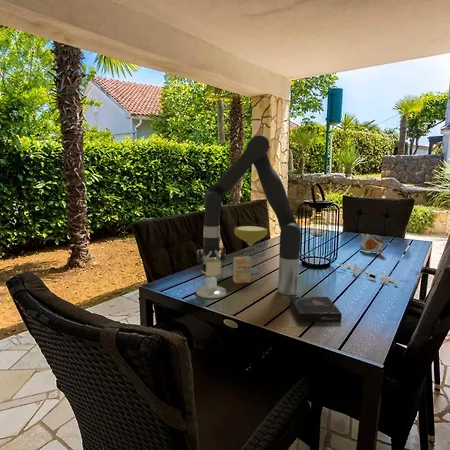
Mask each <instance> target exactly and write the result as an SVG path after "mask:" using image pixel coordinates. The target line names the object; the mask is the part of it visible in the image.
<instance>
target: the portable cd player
mask: <svg viewBox="0 0 450 450" xmlns="http://www.w3.org/2000/svg"><path fill="white" fill-rule="evenodd" d="M289 305H290V308H291V310H292V311H293V313H294V315H295V317H296V319H297V321H298V323H342V313H341V311H340V309H338V307H337V306H336V305H335V304H334V303H333V301H332V300H331V299H330V298H329V296H290V298H289Z"/></svg>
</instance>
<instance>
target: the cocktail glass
mask: <svg viewBox="0 0 450 450" xmlns="http://www.w3.org/2000/svg"><path fill="white" fill-rule="evenodd" d="M233 233H234V235H235V236H236V237H237V238H239V239H240V240H242V241H244V242H246V243H247V245H248V246H249V255H248V256H249V257H250V258H251V251H252V250H251V249H252V248H251V247H252V246H253V245H254V244H255V243H256V242H258V241H260V240H263V239H264V238H265V237H267V235H268V228H267V227H266V226H264V225H257V224H239V225H236V226H235V227H234V232H233ZM251 259H252V258H251ZM259 273H260V270H259V269H258V268H255V267H251V275H256V274H259Z"/></svg>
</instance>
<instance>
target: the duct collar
mask: <svg viewBox="0 0 450 450" xmlns="http://www.w3.org/2000/svg"><path fill="white" fill-rule="evenodd" d="M205 264H206V272H203V270H202V269H201V273H203V274H205V276H207V277H212V276H217V275H221V274H222V271H221V270H222V261H219V260H218V259H216V258H215V257H211V258H209V259H208V260H207V261H206V263H205Z"/></svg>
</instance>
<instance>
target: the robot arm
mask: <svg viewBox="0 0 450 450" xmlns="http://www.w3.org/2000/svg"><path fill="white" fill-rule="evenodd" d="M269 149H270V141H269V139H268V138H267V136H265V135H263V134H257V135H255V136H253V137H252V138H250V140H248V142H247V144H246V148H245V150H244V151H243V153H242V154H241V155H240V156H239V157H238V159H237V160H235V162H234V163H233V164H232V165H230V167H229V168H228V169H227V170H226V171H225V172H224V173H223V174H222V175H221V176H220V178H219V179H218V180H217V181H216V182H215V183H214V184H212V186H210V187H209V189H207V190H206V192H205V193H204V194H203V197H202V201H203V203H204V204H205V214H204V216H203V232H202V233H203V241H202V242H203V243H202V245H203V247H202V249H197V250H196V257H197V258H196V259H197V263H199V264H200V265H201V271H202V270H203V272H206V264H205V263H206V261H207V260H208V259H209V258H216V259H218V260H219V261H221V262H223V261H225V259H226V251H227V248H226V247H224V246H221V247H220V245H221V243H220V242H221V226H220V224H221V223H220V220H221V219H220V216H221V210H222V203H223V201H222V197H223V196H224V195H225V194H227V193H229V192H230V191H231V190H232V189H233V188H234V187H235V186H236V184H237V183H238V182H239V181H240V180H241V178H242V177H243V176H244V174H245V173H246V172H247V171H248V169H250V167H252V166H254V168H255V170H256V173H257V177H258V179H259V182H260V185H261V187H262V191H263V193H264V196H265V199H266V201H267V202H268V204H269V206H270V208H271V209H272V211H273V212H274V214H275V216H276V219H277V221H278V225H279V230H280V233H279V248H278V249H279V252H278V253H279V255H278V256H279V257H278V279H277V283H278V284H277V292H278V293H279V294H281V295H285V296H297V295H298V292H299V280H300V278H299V277H300V273H299V272H300V270H299V269H300V268H299V267H300V253H301V240H302V230H301V228H300V225H299V224H298V222H297V220H296V218H295V216H294V215H293V212H292V209H291V206H290V202H289V199H288V194H287V191H286V189H285V186H284V184H283V181H282V179H281V178H280V176H279V174H278V173H277V172H276V170H275V169H274V168H273V166H272V163H271V162H270V161H271V160H270V158H269V156H268V151H269ZM219 252H220V254H219ZM203 272H202V273H203Z"/></svg>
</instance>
